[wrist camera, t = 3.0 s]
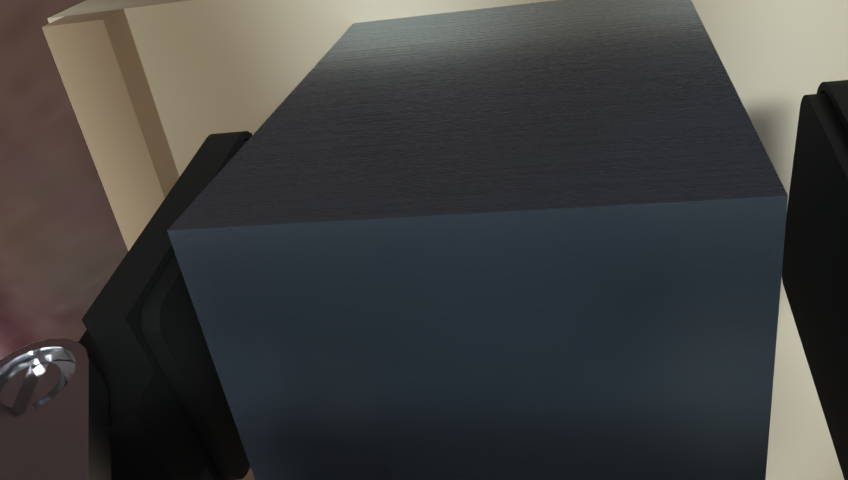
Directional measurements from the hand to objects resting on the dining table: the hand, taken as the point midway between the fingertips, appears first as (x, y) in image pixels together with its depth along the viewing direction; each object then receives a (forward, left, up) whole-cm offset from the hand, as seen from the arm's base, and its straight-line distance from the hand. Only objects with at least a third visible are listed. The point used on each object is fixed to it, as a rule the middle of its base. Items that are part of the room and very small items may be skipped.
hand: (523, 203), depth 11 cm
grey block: (0, 0, -1) cm, 1 cm away
